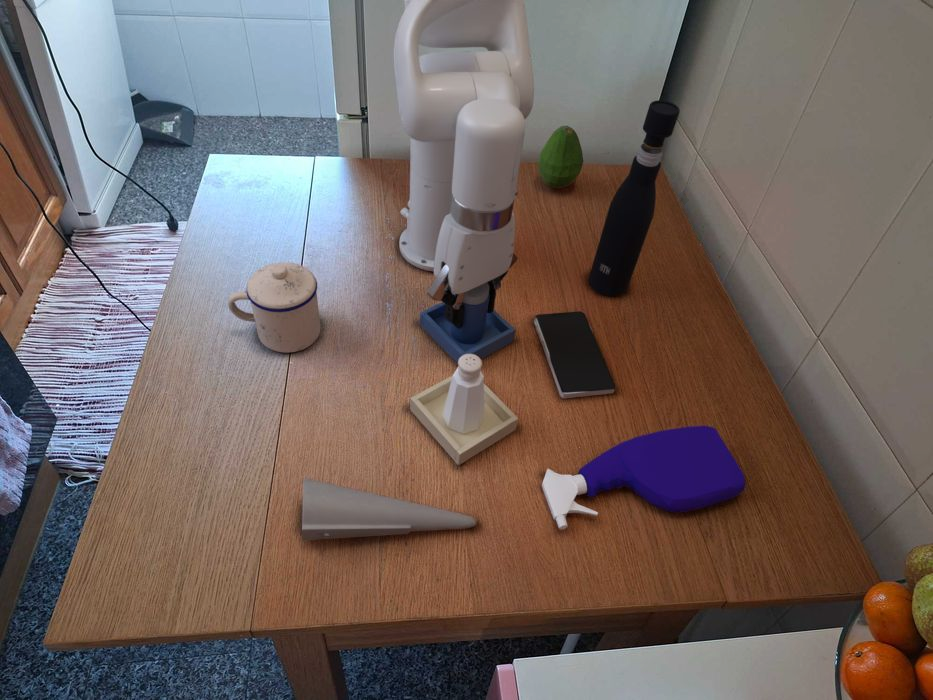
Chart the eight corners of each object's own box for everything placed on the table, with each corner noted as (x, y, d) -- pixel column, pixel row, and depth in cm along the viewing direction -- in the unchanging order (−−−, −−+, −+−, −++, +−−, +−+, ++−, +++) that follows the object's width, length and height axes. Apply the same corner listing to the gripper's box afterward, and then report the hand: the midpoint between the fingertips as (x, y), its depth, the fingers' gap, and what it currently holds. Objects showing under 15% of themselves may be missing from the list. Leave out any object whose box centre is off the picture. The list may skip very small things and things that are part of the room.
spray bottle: (710, 416, 84) (532, 452, 78) (757, 489, 77) (565, 534, 71) (703, 429, 86) (529, 465, 80) (747, 501, 79) (560, 546, 73)
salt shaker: (484, 435, 82) (493, 380, 74) (441, 433, 81) (446, 377, 73) (484, 401, 85) (493, 345, 77) (443, 399, 85) (447, 342, 77)
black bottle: (626, 272, 106) (686, 98, 84) (629, 299, 102) (693, 122, 80) (587, 268, 106) (637, 92, 84) (588, 294, 102) (642, 116, 80)
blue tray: (419, 324, 95) (419, 312, 93) (469, 300, 99) (471, 288, 97) (462, 369, 90) (464, 357, 88) (513, 341, 94) (516, 329, 92)
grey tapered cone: (475, 465, 74) (303, 468, 70) (482, 519, 71) (301, 526, 66) (465, 486, 79) (303, 490, 75) (471, 537, 75) (302, 545, 71)
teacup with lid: (324, 309, 95) (317, 246, 87) (320, 355, 89) (311, 293, 80) (241, 308, 94) (225, 245, 85) (230, 355, 88) (212, 292, 79)
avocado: (533, 193, 120) (543, 134, 111) (536, 171, 125) (547, 112, 116) (575, 200, 119) (590, 141, 110) (577, 177, 125) (591, 119, 116)
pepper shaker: (444, 328, 94) (448, 282, 87) (470, 315, 96) (475, 269, 89) (464, 349, 91) (470, 303, 85) (490, 335, 94) (498, 289, 87)
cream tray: (409, 409, 84) (410, 397, 82) (466, 378, 88) (467, 366, 87) (458, 465, 79) (459, 454, 77) (515, 429, 83) (518, 418, 81)
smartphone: (561, 394, 87) (533, 314, 96) (559, 399, 87) (531, 320, 97) (617, 388, 88) (584, 310, 98) (615, 393, 89) (582, 316, 99)
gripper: (514, 171, 84) (498, 278, 97) (405, 212, 76) (404, 322, 89) (553, 200, 80) (531, 307, 93) (443, 246, 72) (436, 356, 85)
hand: (469, 313), depth 91 cm, fingers closed on pepper shaker, 4 cm apart
